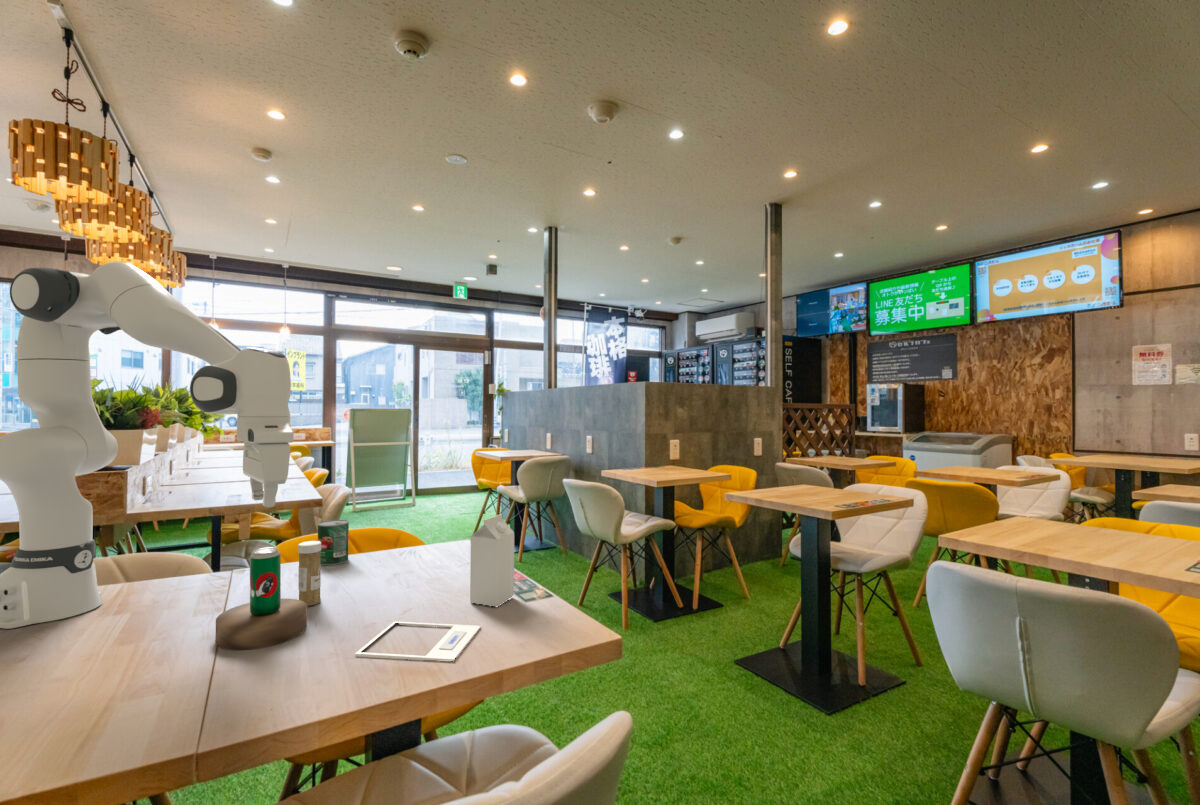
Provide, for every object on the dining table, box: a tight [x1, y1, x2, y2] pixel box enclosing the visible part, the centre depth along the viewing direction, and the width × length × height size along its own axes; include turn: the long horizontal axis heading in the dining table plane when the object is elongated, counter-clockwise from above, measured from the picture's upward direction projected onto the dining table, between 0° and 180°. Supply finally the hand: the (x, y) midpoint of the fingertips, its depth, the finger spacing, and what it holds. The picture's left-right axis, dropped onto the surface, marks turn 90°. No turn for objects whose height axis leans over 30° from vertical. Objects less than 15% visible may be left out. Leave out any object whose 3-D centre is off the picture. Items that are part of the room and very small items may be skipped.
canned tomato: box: [317, 519, 350, 566], centre depth 156 cm, size 8×8×11 cm
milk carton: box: [469, 513, 515, 607], centre depth 126 cm, size 7×7×19 cm
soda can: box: [249, 547, 282, 616], centre depth 107 cm, size 5×5×12 cm
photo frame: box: [354, 620, 482, 661], centre depth 104 cm, size 15×1×18 cm
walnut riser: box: [215, 598, 308, 651], centre depth 107 cm, size 15×15×4 cm
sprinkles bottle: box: [297, 540, 322, 607], centre depth 123 cm, size 5×5×14 cm
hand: (263, 503), depth 107 cm, fingers open, 8 cm apart
